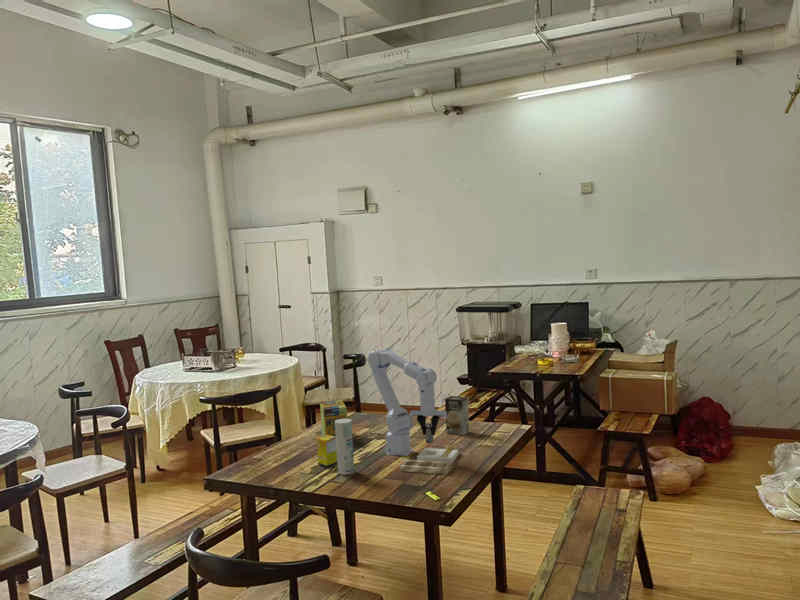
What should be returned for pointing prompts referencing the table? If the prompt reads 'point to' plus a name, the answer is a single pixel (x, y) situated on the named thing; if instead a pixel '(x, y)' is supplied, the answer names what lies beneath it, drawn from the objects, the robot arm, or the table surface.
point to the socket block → (437, 455)
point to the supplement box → (327, 450)
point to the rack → (426, 466)
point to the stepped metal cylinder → (429, 433)
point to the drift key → (449, 449)
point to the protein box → (331, 415)
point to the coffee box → (457, 415)
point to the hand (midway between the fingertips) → (429, 434)
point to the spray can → (344, 446)
